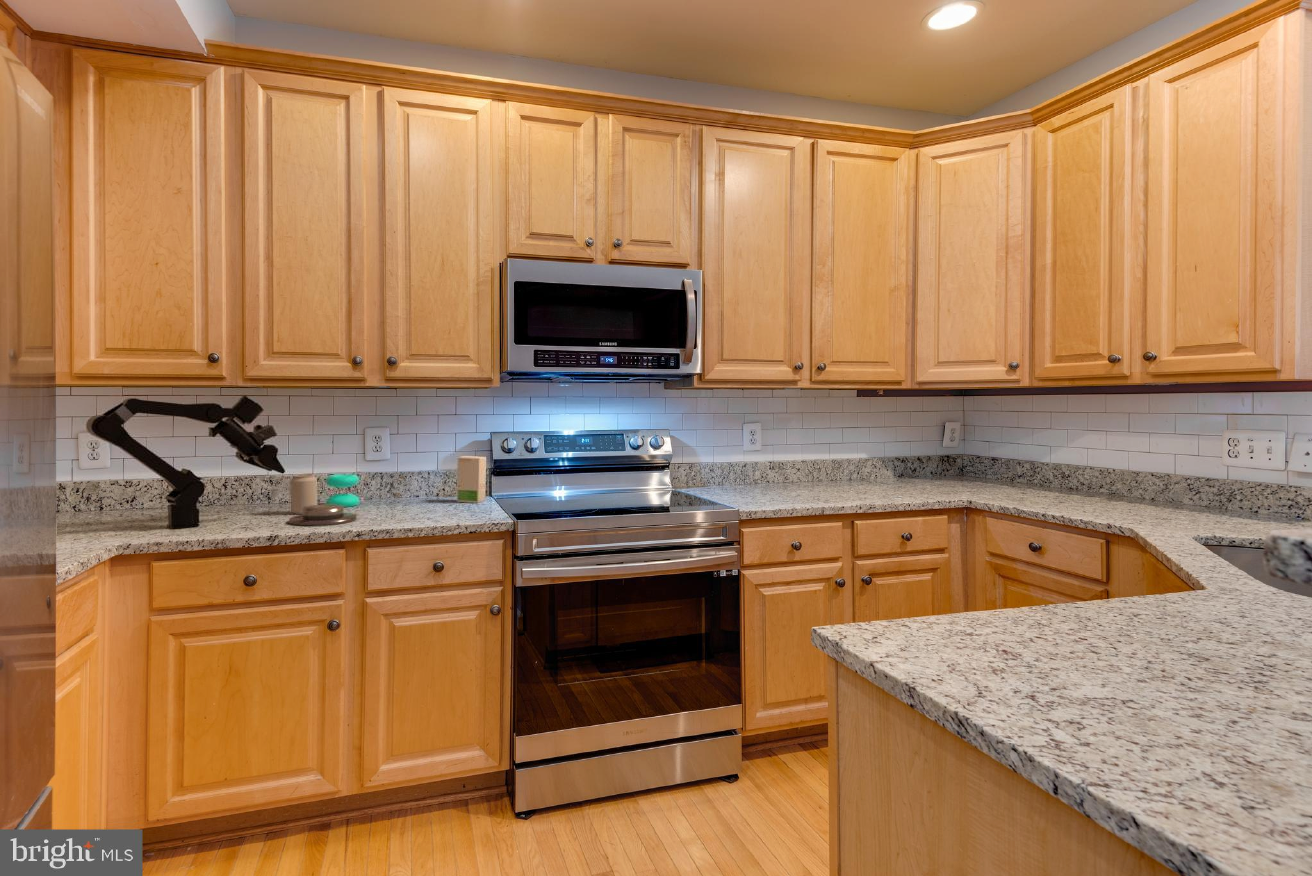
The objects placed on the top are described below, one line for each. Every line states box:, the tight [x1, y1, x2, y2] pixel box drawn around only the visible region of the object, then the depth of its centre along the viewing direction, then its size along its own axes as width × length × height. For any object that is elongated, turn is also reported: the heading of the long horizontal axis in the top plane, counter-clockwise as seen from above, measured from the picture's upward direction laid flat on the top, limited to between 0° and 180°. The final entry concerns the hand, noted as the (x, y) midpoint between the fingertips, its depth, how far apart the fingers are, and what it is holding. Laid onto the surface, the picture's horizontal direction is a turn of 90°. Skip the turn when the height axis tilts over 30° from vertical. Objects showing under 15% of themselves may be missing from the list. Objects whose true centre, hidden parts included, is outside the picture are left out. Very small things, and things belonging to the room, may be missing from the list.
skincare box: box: [456, 455, 487, 504], centre depth 257 cm, size 8×7×16 cm
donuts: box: [325, 473, 360, 508], centre depth 246 cm, size 10×10×10 cm
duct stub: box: [288, 503, 357, 527], centre depth 218 cm, size 18×18×4 cm
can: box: [289, 473, 318, 515], centre depth 231 cm, size 8×8×12 cm
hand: (277, 471), depth 225 cm, fingers open, 9 cm apart
